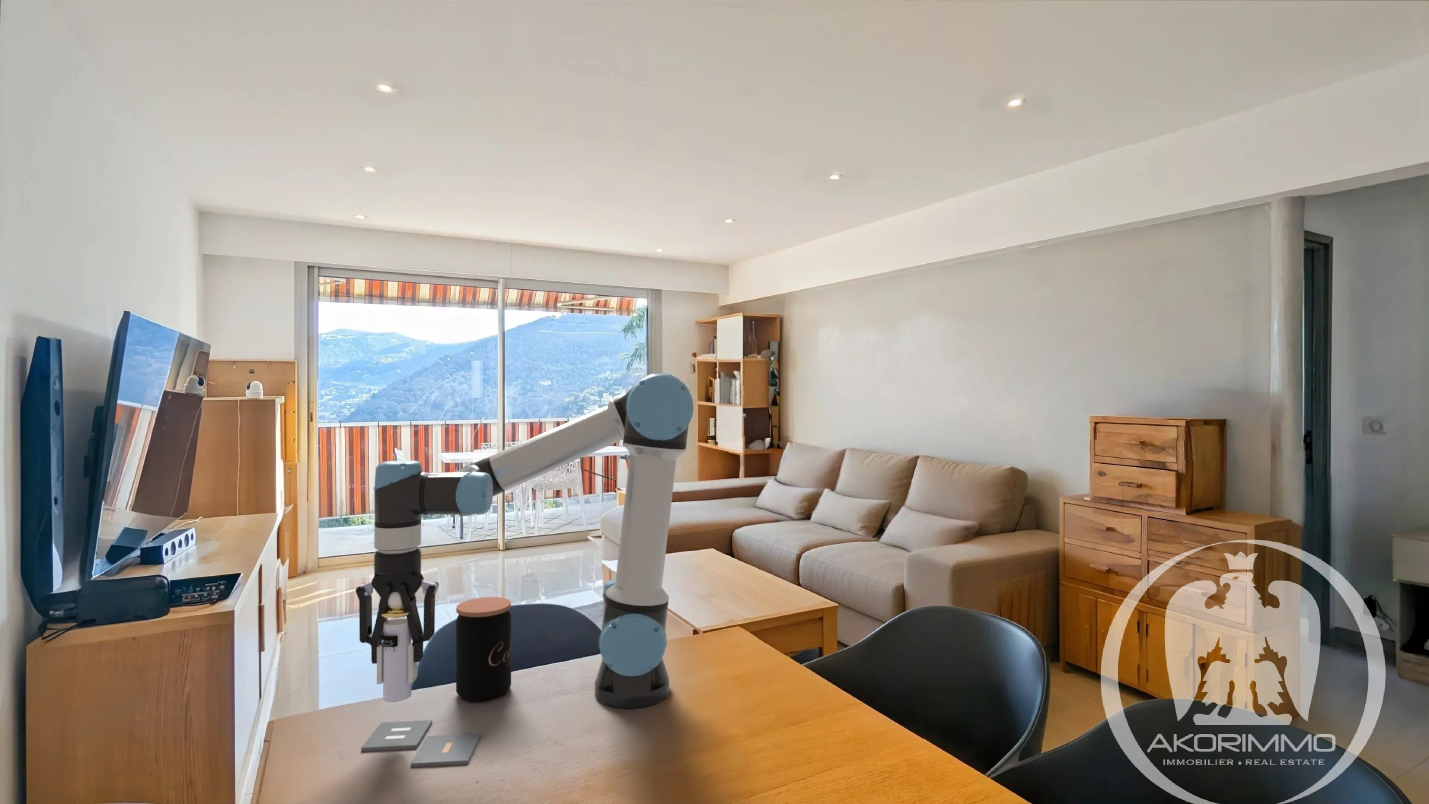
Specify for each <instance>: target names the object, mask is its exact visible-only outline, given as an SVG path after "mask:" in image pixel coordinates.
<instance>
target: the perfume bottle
mask: <svg viewBox="0 0 1429 804" xmlns="http://www.w3.org/2000/svg"><path fill="white" fill-rule="evenodd" d="M387 604H388V606H389V608H388V609H387V610H386V612H380V616H381V617H383V618H388V619H387V620H386V621H385V622H384V623H383V633H382V635H381V634H380V638H379V643H380V645H381V646H383V683H382V701H384V702H386V703H397V702H403V701H404V700H407V699H409V698H411V696H412V683H408V646H409V645H410V644H411V643H412V637H411V633H410V629H409V625H408V621H407V617H406V616H408V615H411V612H405V609H404V608H403V605H402V601H401V597H400V594H399V592H393V593H391V594H390V595H389V598H388V603H387ZM380 629H381V628H380ZM381 632H382V631H381ZM381 636H382V637H381ZM380 640H381V641H380ZM382 642H383V643H382Z"/></svg>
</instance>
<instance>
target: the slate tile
mask: <svg viewBox="0 0 1429 804" xmlns="http://www.w3.org/2000/svg"><path fill="white" fill-rule="evenodd" d="M481 736H482V735H481V732H480V733H477V732H476V733H461V734H444V735H443V734H440V735H438V734H437V735H427V736H426V738H425V740H424V741H423V742H422V745H421V746H420V748H419V750H417V753H416V754H415V756H414V757H413V759H412V760H411V762H410V768H419V767H435V766H438V767H439V766H454V765H455V766H456V765H468V764H469V762H470V760H471V758H472V756H473V755H474V751H475V750H476V747H477V745H478V743H479V741H480V739H481Z"/></svg>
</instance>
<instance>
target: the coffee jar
mask: <svg viewBox="0 0 1429 804" xmlns="http://www.w3.org/2000/svg"><path fill="white" fill-rule="evenodd" d="M511 607H512V601H511V600H510V599H507V598H505V597H499V596H486V597H485V596H484V597H482V596H481V597H477V598H472V599H468V600H464V601H462V602H460V603H459V604H457V605H456V608H455V609H456V610H455V611H456V613H457V614H458V615H457V618H456V621H455V655H456V656H455V692H456V693H457V696H458V697H459V698H460V699H461V700H462V701H464V702H468V703H473V704H476V703H477V704H478V703H479V704H480V703H487V702H492V701H495V700H498V699H500V698H502V697H504V696H505V695H506V694H507V693H508V692H509V690H510V688H511V686H512V612H511V611H510V609H511Z"/></svg>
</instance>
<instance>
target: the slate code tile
mask: <svg viewBox="0 0 1429 804" xmlns="http://www.w3.org/2000/svg"><path fill="white" fill-rule="evenodd" d="M432 725H433V720H432V719H427V720H405V721H389V722H388V721H387V722H386V721H385V722H380V723H379V725H377V727H376V728H375V730H374V731H373V732H372V733H371V735H370V736H369V737H368V738H367V739H366V741H365V742H364V744H363V745H362V746H361V747H360V751H361V752H371V751H372V752H374V751H389V750H394V751H395V750H410V749H417V748H418V747H419V745H420V743H421V742H422V740H423V739H424V738H425V736H426V734H427V733H428V731H429V729H430V728H431V727H432Z"/></svg>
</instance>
